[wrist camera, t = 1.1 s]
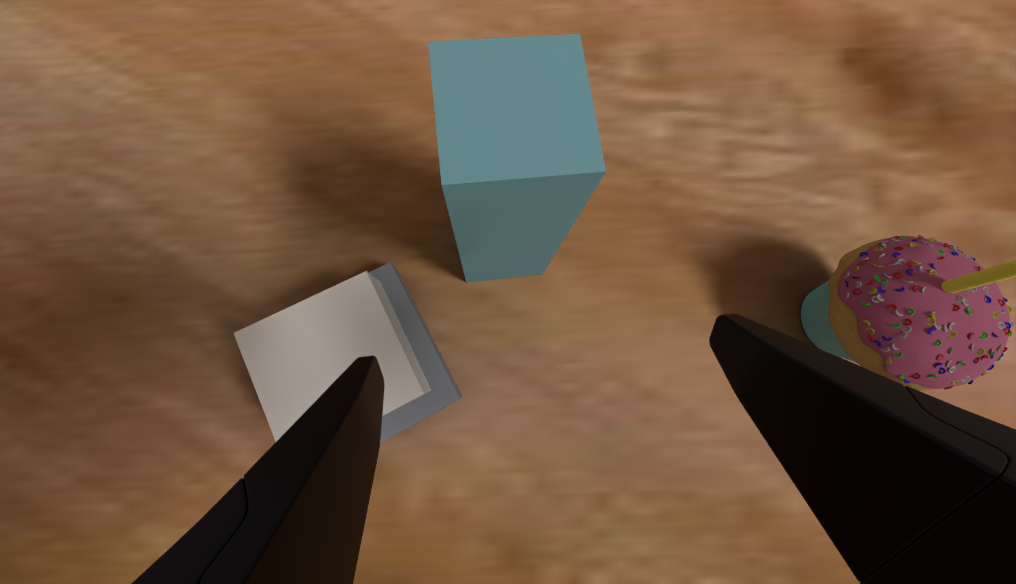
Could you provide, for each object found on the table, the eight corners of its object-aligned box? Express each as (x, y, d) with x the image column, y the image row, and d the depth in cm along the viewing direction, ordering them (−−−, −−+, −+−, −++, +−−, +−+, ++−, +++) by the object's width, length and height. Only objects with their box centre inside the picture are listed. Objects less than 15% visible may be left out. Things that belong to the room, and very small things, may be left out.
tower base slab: (462, 394, 23) (459, 398, 20) (327, 471, 21) (306, 485, 19) (400, 272, 24) (390, 262, 21) (268, 337, 23) (242, 334, 20)
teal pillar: (542, 274, 24) (605, 171, 11) (466, 282, 23) (441, 184, 11) (532, 204, 25) (580, 34, 12) (459, 210, 24) (428, 41, 12)
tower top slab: (431, 390, 20) (423, 393, 18) (311, 454, 19) (285, 467, 17) (380, 282, 21) (366, 270, 19) (264, 337, 20) (233, 332, 18)
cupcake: (749, 322, 24) (1004, 282, 12) (816, 235, 25) (1099, 124, 14) (855, 413, 23) (1237, 464, 11) (917, 317, 25) (1310, 275, 13)
